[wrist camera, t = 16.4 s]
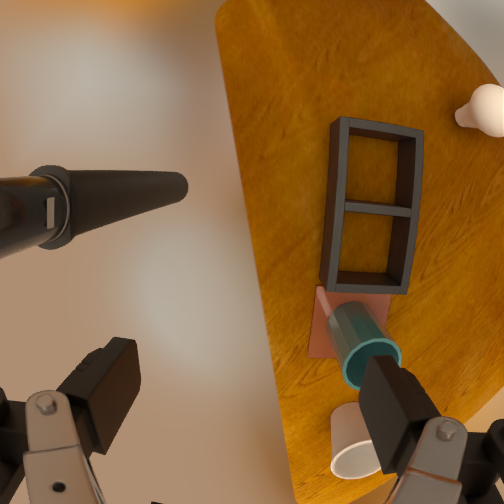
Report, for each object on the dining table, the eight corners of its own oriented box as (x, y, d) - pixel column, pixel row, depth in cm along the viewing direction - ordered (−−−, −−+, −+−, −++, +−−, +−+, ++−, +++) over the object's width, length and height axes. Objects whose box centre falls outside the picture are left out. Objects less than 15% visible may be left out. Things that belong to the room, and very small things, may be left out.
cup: (323, 346, 40) (337, 391, 30) (330, 300, 39) (348, 338, 29) (369, 346, 40) (393, 389, 30) (378, 301, 38) (408, 337, 29)
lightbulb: (443, 89, 32) (491, 69, 21) (477, 107, 32) (528, 95, 22) (437, 131, 34) (488, 121, 23) (473, 147, 34) (525, 144, 23)
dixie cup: (328, 394, 42) (341, 442, 33) (381, 395, 42) (401, 439, 32) (316, 433, 44) (323, 480, 34) (364, 433, 44) (379, 477, 34)
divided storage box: (318, 277, 38) (326, 292, 34) (330, 123, 34) (340, 116, 29) (391, 281, 38) (406, 294, 33) (406, 135, 34) (424, 130, 29)
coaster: (306, 356, 41) (307, 357, 41) (316, 284, 39) (316, 285, 38) (377, 356, 41) (378, 357, 40) (391, 288, 38) (393, 289, 38)
